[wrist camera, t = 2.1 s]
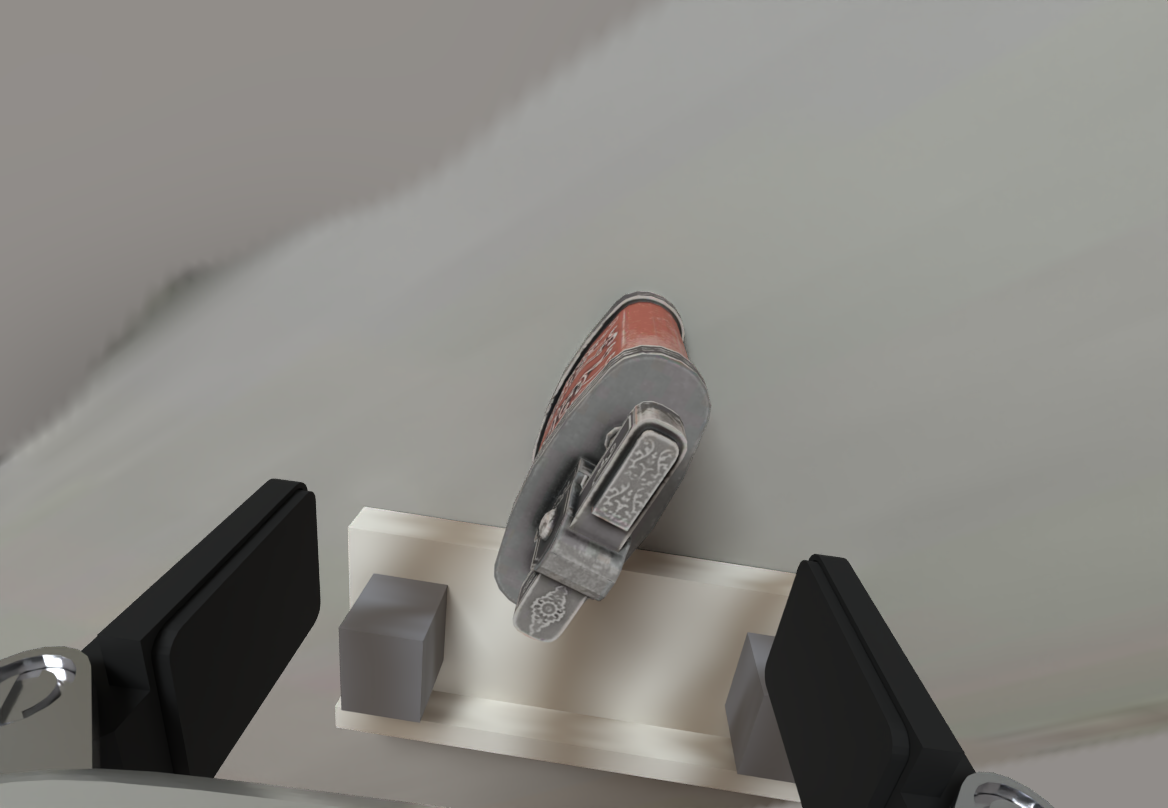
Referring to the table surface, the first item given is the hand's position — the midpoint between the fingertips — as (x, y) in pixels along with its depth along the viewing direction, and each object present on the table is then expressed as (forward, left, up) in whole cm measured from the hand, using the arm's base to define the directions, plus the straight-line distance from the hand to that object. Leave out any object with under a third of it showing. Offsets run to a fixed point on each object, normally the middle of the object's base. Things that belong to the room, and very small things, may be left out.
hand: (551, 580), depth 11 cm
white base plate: (-2, +11, -11) cm, 16 cm away
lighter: (-1, 0, -11) cm, 11 cm away
